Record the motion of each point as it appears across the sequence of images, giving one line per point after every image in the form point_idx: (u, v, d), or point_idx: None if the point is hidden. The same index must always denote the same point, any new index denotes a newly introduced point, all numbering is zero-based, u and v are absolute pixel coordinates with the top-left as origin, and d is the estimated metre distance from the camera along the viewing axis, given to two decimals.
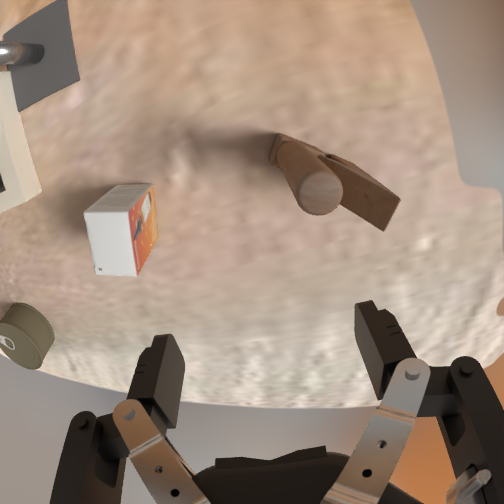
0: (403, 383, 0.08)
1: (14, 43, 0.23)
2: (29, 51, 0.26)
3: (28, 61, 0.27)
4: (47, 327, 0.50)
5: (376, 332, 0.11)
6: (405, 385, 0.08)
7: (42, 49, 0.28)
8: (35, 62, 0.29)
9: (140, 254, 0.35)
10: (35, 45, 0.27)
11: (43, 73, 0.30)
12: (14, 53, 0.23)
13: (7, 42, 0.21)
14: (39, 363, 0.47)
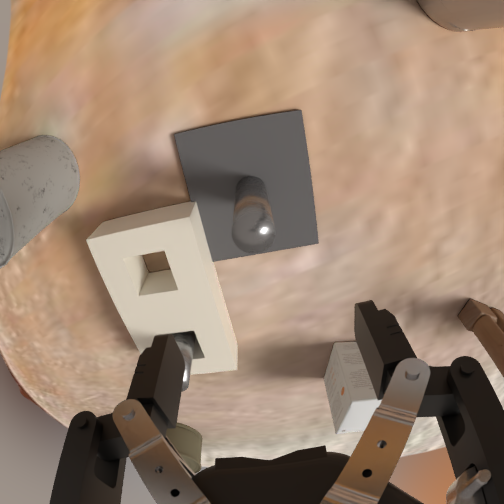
0: (403, 383, 0.08)
1: (267, 205, 0.24)
2: None
3: None
4: (200, 439, 0.52)
5: (376, 332, 0.11)
6: (405, 385, 0.08)
7: (266, 190, 0.30)
8: None
9: None
10: (265, 188, 0.28)
11: None
12: None
13: (267, 210, 0.23)
14: (193, 471, 0.49)
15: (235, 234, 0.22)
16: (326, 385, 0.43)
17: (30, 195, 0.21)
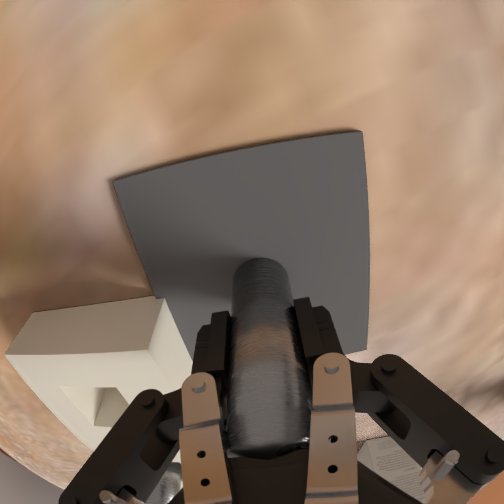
0: (327, 379, 0.09)
1: (302, 365, 0.11)
2: None
3: None
4: None
5: (305, 327, 0.12)
6: (321, 378, 0.09)
7: None
8: None
9: None
10: (289, 290, 0.15)
11: None
12: None
13: (305, 393, 0.09)
14: None
15: None
16: None
17: None
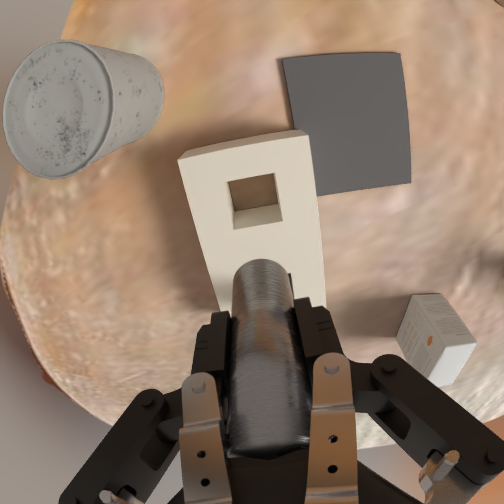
0: (326, 379, 0.09)
1: (302, 366, 0.11)
2: None
3: None
4: None
5: (305, 327, 0.12)
6: (321, 378, 0.09)
7: None
8: None
9: None
10: (289, 291, 0.15)
11: (363, 156, 0.29)
12: None
13: (305, 394, 0.09)
14: None
15: None
16: (401, 343, 0.40)
17: (130, 87, 0.18)
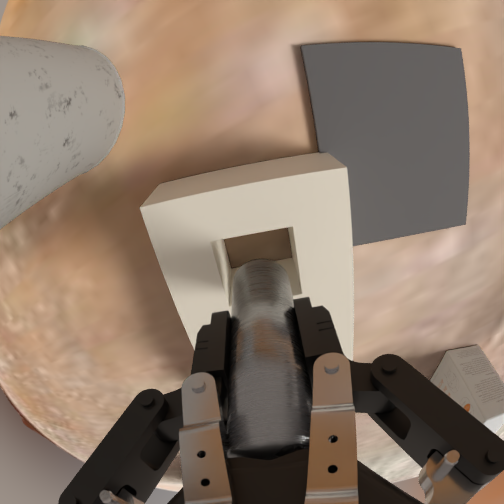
0: (326, 379, 0.09)
1: (302, 366, 0.11)
2: None
3: None
4: None
5: (305, 326, 0.12)
6: (321, 378, 0.09)
7: None
8: None
9: None
10: (289, 292, 0.15)
11: (412, 192, 0.20)
12: None
13: (305, 394, 0.09)
14: None
15: None
16: None
17: (42, 99, 0.09)
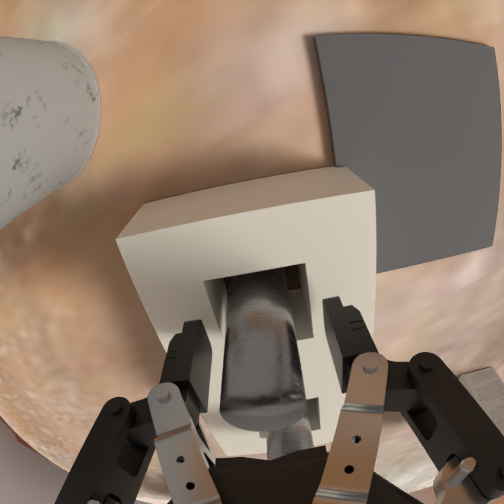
0: (363, 378, 0.09)
1: (290, 329, 0.12)
2: None
3: None
4: None
5: (338, 326, 0.11)
6: (361, 378, 0.09)
7: None
8: None
9: None
10: (282, 270, 0.17)
11: (439, 212, 0.17)
12: None
13: (291, 352, 0.11)
14: None
15: (227, 411, 0.10)
16: None
17: None
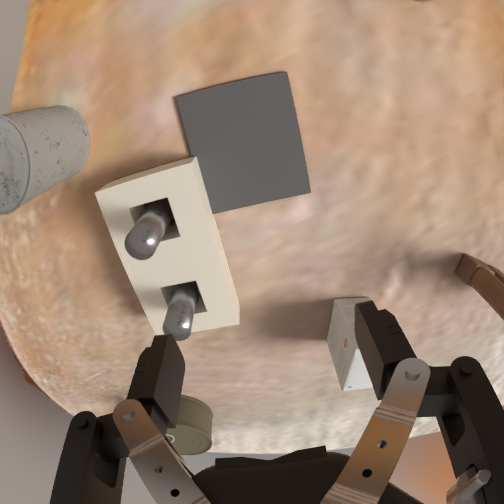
0: (403, 383, 0.08)
1: (158, 221, 0.30)
2: (169, 221, 0.33)
3: None
4: (209, 413, 0.52)
5: (376, 332, 0.11)
6: (405, 385, 0.08)
7: None
8: None
9: None
10: (169, 206, 0.34)
11: (257, 173, 0.34)
12: (162, 236, 0.30)
13: (154, 225, 0.29)
14: (204, 449, 0.50)
15: (127, 246, 0.27)
16: (329, 345, 0.44)
17: (47, 144, 0.23)
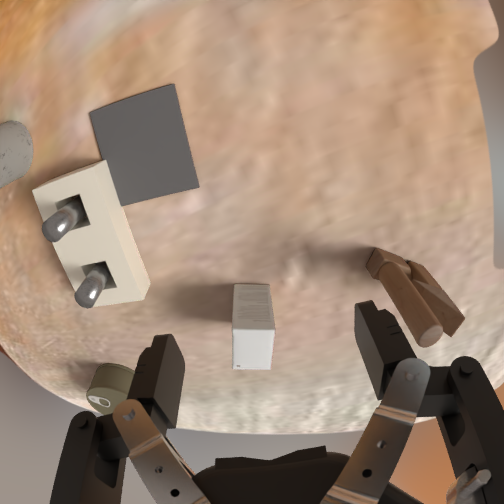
0: (403, 383, 0.08)
1: (69, 213, 0.35)
2: (83, 212, 0.38)
3: None
4: None
5: (376, 332, 0.11)
6: (405, 385, 0.08)
7: None
8: None
9: None
10: None
11: (153, 172, 0.39)
12: (72, 224, 0.35)
13: (63, 216, 0.33)
14: None
15: (44, 231, 0.32)
16: None
17: None
